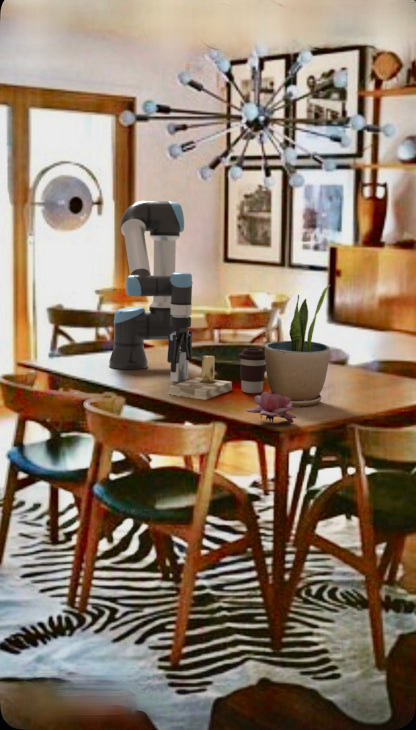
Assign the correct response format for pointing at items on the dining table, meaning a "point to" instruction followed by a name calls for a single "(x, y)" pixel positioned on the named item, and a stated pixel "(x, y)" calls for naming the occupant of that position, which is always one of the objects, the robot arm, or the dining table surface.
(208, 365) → the yellow rectangular block
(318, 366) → the potted plant
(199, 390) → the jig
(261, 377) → the coffee cup
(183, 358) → the grey rectangular block
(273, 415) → the flower
